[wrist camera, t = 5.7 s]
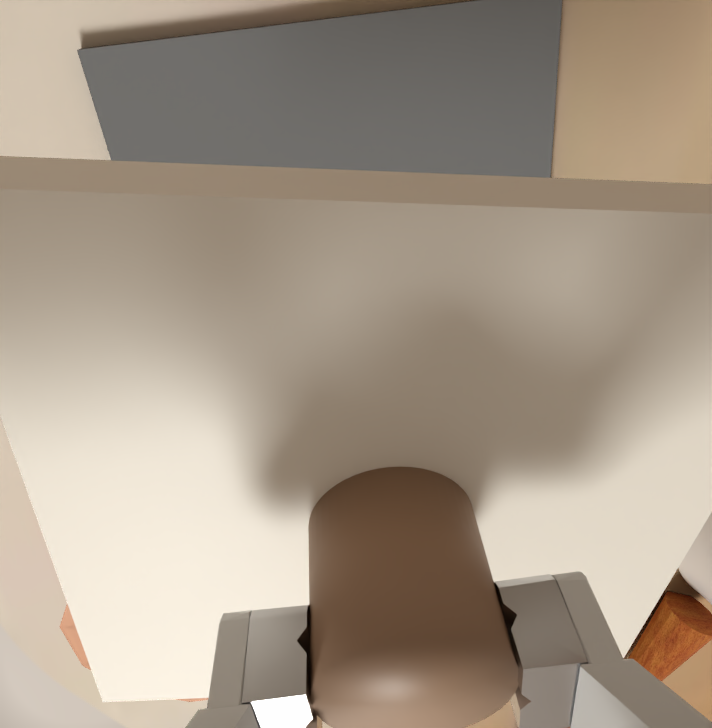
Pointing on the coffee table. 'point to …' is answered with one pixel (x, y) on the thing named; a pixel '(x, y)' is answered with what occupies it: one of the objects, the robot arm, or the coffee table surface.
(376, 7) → the coffee table surface
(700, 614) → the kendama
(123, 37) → the coffee table surface
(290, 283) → the lid
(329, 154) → the mat
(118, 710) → the coffee table surface
